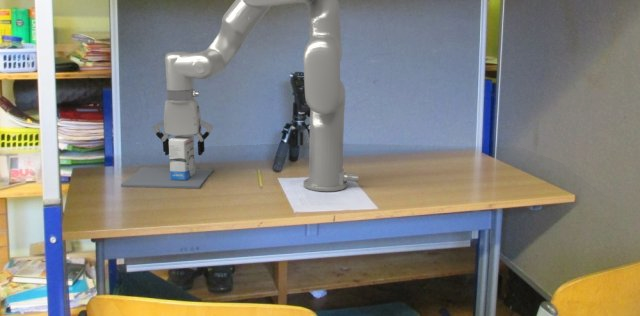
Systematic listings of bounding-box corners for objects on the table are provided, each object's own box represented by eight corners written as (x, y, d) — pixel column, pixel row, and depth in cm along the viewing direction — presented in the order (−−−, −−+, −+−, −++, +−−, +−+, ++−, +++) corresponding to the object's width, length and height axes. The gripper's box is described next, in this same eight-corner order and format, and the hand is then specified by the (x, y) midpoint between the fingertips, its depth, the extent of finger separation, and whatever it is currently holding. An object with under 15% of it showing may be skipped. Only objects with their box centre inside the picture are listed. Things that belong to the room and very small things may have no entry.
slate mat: (213, 170, 201) (213, 168, 201) (199, 188, 182) (199, 186, 182) (142, 169, 202) (142, 167, 202) (121, 186, 182) (121, 184, 182)
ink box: (185, 180, 187) (184, 140, 184) (169, 180, 188) (167, 140, 185) (195, 173, 195) (194, 134, 193) (179, 172, 196) (178, 134, 193)
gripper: (213, 93, 189) (216, 151, 193) (154, 94, 190) (158, 151, 194) (208, 97, 182) (211, 157, 186) (146, 97, 183) (151, 157, 187)
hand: (184, 154), depth 190 cm, fingers open, 9 cm apart
